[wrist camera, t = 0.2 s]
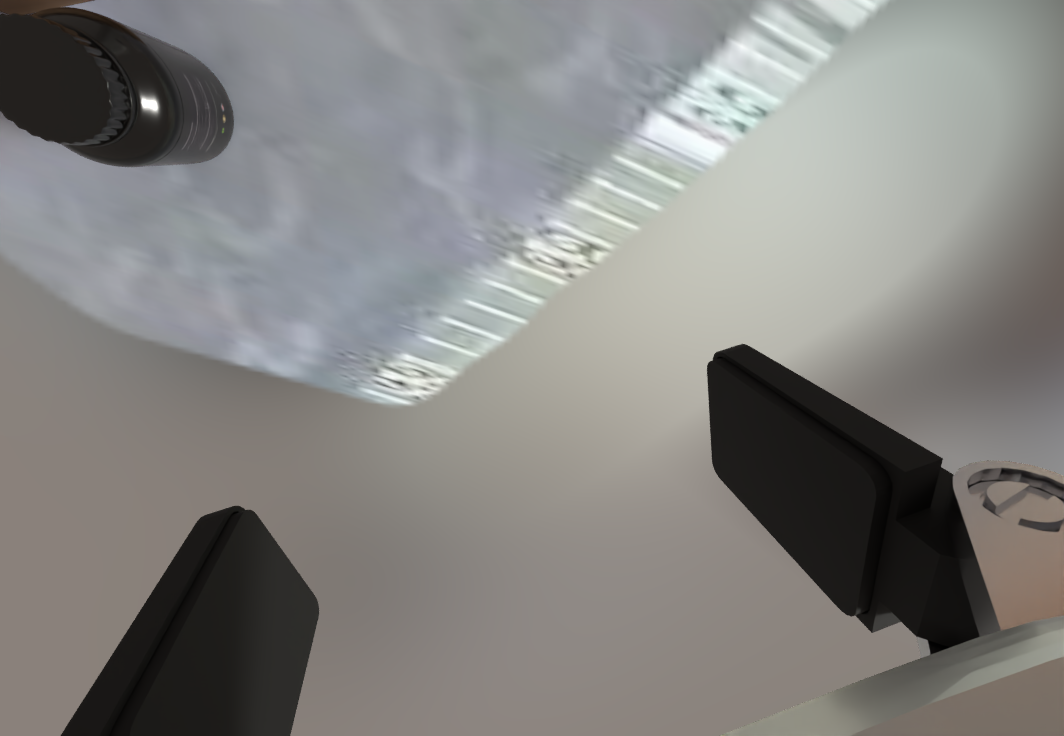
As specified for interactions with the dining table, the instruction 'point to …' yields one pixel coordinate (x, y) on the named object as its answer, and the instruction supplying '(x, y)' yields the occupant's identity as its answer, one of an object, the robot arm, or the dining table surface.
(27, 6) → the display plinth
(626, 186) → the dining table surface
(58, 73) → the supplement bottle
